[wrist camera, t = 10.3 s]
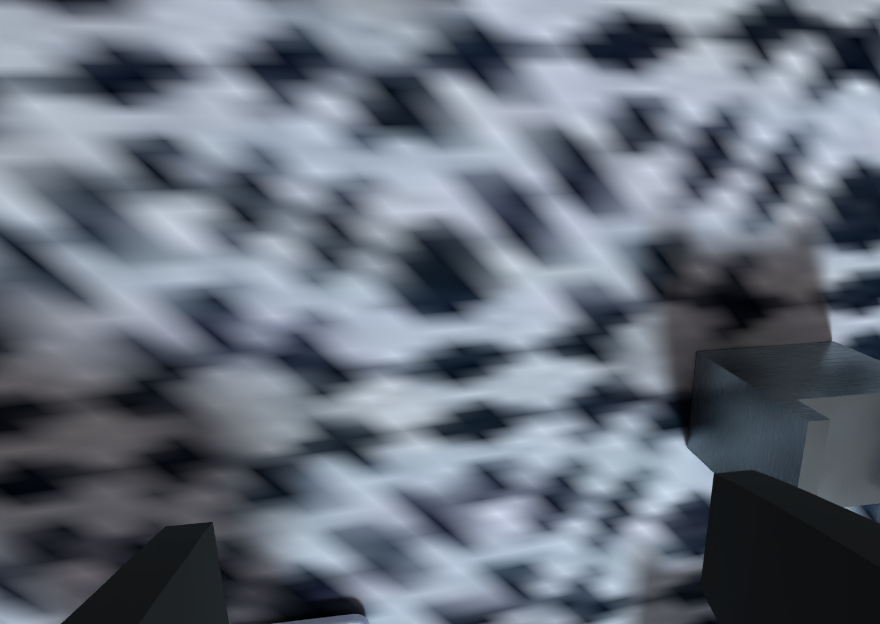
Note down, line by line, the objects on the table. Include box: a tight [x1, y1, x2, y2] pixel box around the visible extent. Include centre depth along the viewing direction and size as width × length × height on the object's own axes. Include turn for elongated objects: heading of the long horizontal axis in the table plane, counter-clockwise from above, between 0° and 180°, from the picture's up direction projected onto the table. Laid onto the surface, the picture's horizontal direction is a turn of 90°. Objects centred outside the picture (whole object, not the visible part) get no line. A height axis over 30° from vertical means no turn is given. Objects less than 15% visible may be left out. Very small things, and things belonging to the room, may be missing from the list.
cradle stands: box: [687, 341, 880, 507], centre depth 20 cm, size 16×5×5 cm, turn 2°
